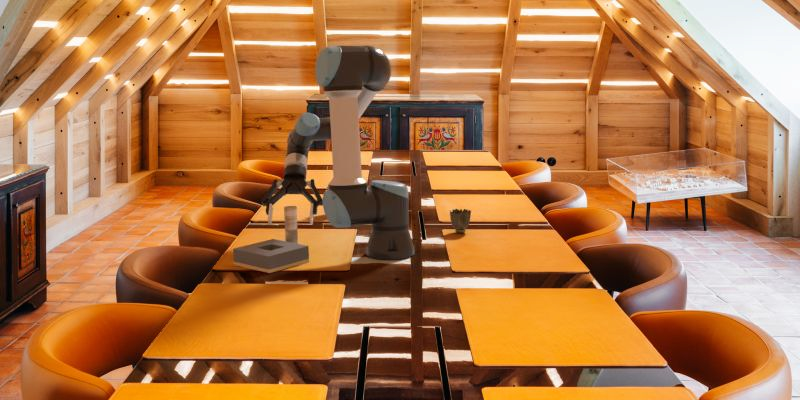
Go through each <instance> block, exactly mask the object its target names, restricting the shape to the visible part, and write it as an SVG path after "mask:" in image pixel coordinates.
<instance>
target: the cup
mask: <svg viewBox="0 0 800 400" xmlns="http://www.w3.org/2000/svg"><path fill="white" fill-rule="evenodd" d="M471 214H472V210H470V209H466V208H464V209H462V208H460V209H458V208H455V209H452V211H451V210H449V216H450V224H451V226H452V227H453V228H454V231H455V233H456V234H459V235H460V234H461V235H462V234H465V233H466V231H467V230H466V229H467V228H468V227H469V226H470V223H471Z"/></svg>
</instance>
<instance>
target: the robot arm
mask: <svg viewBox="0 0 800 400" xmlns="http://www.w3.org/2000/svg"><path fill="white" fill-rule="evenodd" d="M314 67H315V69H314V75H315V79H316V84H317V85H318V86H320V87H321V88H323V89H322V90H323V94H325V96H326V97H328V100H329V101H328V102H329V103H328V105H329V117H318V116H317V115H316V114H314V113H311V112H303V113H302V114H301V115H299V117H298V118H297V120H296V122H295V124H294V128H293V129H292V130H291V131H289V133H288V137H287V139H286V143H287V144H286V145H287V146H286V153H285V161H284V170H283V177H282V178H283V180H279V181H278V179H276V178H275V179H273V180H272V181H273V182H272V184H271V186H270V187H269V188H268V190H267V191H266V193H265V194H264V196H263V197H262V199H261V201H260V202H261V204H262V206H263V207H265V214H266V216H267V223H268V225H269V226H270V225H271V226H272V223H273V213H274V212H273V211H274V207H273V206H274V205H275V204H276V203H277V202H279V200H280V199H282V198H283V197H284V196H286V195H287V194H289V195H292V194H293V195H294V194H295V195H299V194H301V195H302V196H304V197H305V198H306V200H308V201H309V203H310V210H309V225H313V224H314V217H315V216H314V215H317V214H318V208H319V206H321V207H322V208H323V212H324V215H325V217H326V219H327V221H328V222H329V224H330V225H331V226H333V227H334V228H338V229H339V228H340V229H341V228H350V227H357V226H367V225H371V232H370V235H369V239H368V240H367V241H368V242H367V245H366V248H365V249H366V250H365V251H366V256H367V257H369V258H371V259H374V260H375V259H376V260H382V261H383V260H385V261H386V260H387V261H388V260H392V261H394V260H402V259H408V258H411V257H413V256H414V255H415V245H414V244H413V240H412V236H411V234H410V230H409V221H410V220H409V219H410V218H409V199H410V198H409V188H408V186H407V185H406V184H405V183H403V182H399V181H393V180H382V179H381V180H379V179H377V180H375V179H373V180H371V181H370V183H369V186H368V181H367V180H366V179H365V178H364V177H363V176H362V175H363V173H362V157H361V156H362V155H361V135H360V118H361V117H362V116H363V114H364V112H365V111H366V110H367V108H368V107H369V105H370V104H371V102H372V101H373V100H374V99H375V97H376V95H377V94H378V93H379V92H382V91H383V90H384V89H385V88H386V87H387V85H388V83H389V81H390V80H391V76H392V66H391V61H390V59H389V58H388V56H387V54H386V53H385V52H384V51H383V50H381V48H378V47H376V46H373V45H331V46H330V45H329V46H326V47H323V49H321V50H320V51H319V53H318V55H317V58H316V61H315V65H314ZM329 140H331V155H332V156H331V157H332V159H331V160H332V172H333V173H332V174H333V175H332V176H333V177H332V179H331V180H330V181H329V182H328V184H329V190H328V189H326V190H325V191H324V192H323V194H322V196H321V194H320V192H319V191H318V189H317V186H316V183H315V180H314V178H312V179H310V180H307V174H308V173H307V171H308V159H309V151H310V148H311V146H312V144H313V142H314V141H315V142H317V141H329ZM307 186H308V187H309V189H311V190H312V193H313V195H314V197H313V196H312V194H311V193H310V192H309V191H308V190H307V189H306V187H307ZM279 188H280V189H279ZM278 189H279V190H278ZM276 191H277V192H276ZM315 198H316V199H315Z"/></svg>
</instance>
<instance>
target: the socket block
mask: <svg viewBox="0 0 800 400" xmlns="http://www.w3.org/2000/svg"><path fill="white" fill-rule="evenodd" d="M309 251H310V250H309V245H305V244H300V243H298V244H296V243H291V242H286V241H285V240H280V239H275V238H271V239H267V240H263V241H259V242H254V243H251V244H247V245H243V246H242V245H241V246H240V247H234V248H232V253H233V254H232V256H233V265H234V266H238V267H241V268H245V269H246V268H247V269H251V270H255V271H259V272H263V273H268V274H271V273H274V272H279V271H281V270H285V269H289V268H293V267H295V266H299V265H303V264H306V263H309V262H310V255H309V254H310V252H309Z"/></svg>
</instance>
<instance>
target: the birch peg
mask: <svg viewBox="0 0 800 400" xmlns="http://www.w3.org/2000/svg"><path fill="white" fill-rule="evenodd" d="M283 209H284V211H283V212H284V214H283V215H284V237H285V239H284V241H286V242H291V243H296V244H299V235H298V234H299V233H298V231H299V230H298V211H297V206H296V205H286V206H284V207H283Z"/></svg>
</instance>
